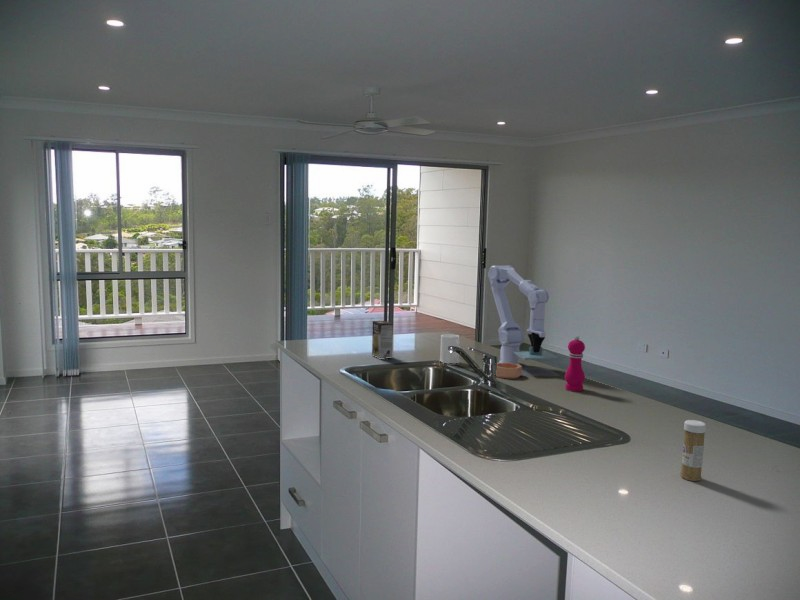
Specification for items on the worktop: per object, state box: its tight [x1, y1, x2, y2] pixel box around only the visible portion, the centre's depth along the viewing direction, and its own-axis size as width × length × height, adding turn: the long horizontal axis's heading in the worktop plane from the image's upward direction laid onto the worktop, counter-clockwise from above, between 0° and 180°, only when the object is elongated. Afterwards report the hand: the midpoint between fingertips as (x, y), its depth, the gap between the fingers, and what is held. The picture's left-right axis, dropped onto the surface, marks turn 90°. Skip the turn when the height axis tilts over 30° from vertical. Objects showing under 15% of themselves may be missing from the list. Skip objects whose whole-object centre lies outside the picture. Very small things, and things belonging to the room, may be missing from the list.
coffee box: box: [371, 320, 394, 358], centre depth 277 cm, size 9×6×16 cm
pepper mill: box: [564, 335, 586, 392], centre depth 227 cm, size 7×7×20 cm
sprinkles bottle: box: [680, 419, 707, 482], centre depth 144 cm, size 5×5×13 cm
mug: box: [439, 333, 461, 364], centre depth 268 cm, size 12×8×12 cm
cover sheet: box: [514, 346, 559, 361], centre depth 254 cm, size 14×14×4 cm
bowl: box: [495, 362, 523, 380], centre depth 246 cm, size 10×10×4 cm
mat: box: [521, 366, 561, 377], centre depth 255 cm, size 16×16×1 cm
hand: (535, 351), depth 254 cm, fingers closed on cover sheet
